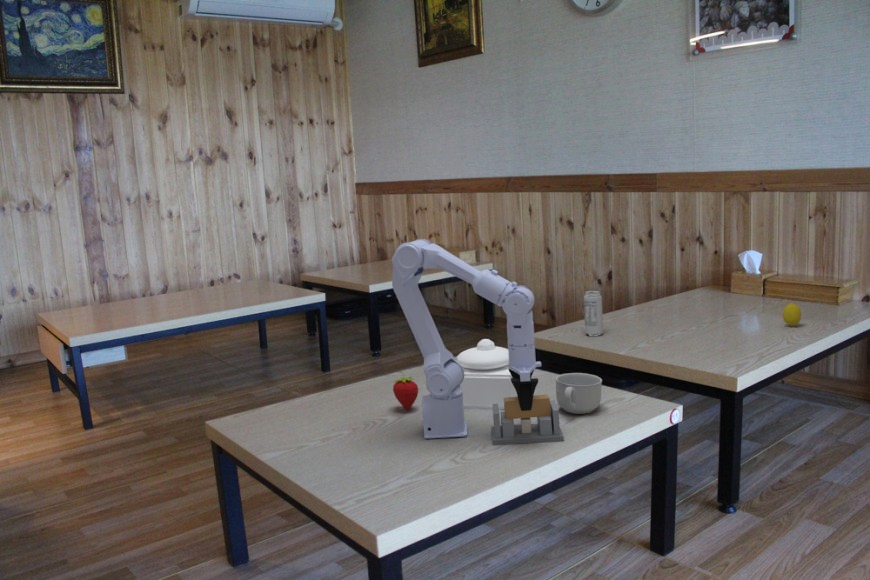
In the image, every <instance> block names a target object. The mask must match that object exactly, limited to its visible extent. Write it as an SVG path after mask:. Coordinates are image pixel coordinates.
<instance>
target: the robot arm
mask: <svg viewBox="0 0 870 580" xmlns="http://www.w3.org/2000/svg"><path fill="white" fill-rule="evenodd" d="M391 263H392V279H391V280H392V281H391V282H392V283H391V284H392V285H391V286H392V289H393V292H394V294H395V295H396V296H395V297H396V298H397V300H398V303H399V305H400V308H401V310H402V312H403V314H404V316H405V318H406V321H407V323H408V326H409V328H410V329H411V333H412V334H413V336H414V339H415V341H416V344H417V346H418V349H419V351H420V352H421V354H422V358H423V372H424V375H425V385H426V389H427V391H428V392H429V393H430V394H426V395H425V394H424V395H422V396H421V409H422V410H421V412H422V428H423V437H424V439H444V438H445V439H446V438H461V437H463V438H464V437H465V438H466V437H467V436H468V423H467V422H465V410H464V409H465V408H464V406H463V392H462V389H461V387H460V384H461V383H462V381H463V379H464V370H463V368H462V366H461V365H460V364H459V363H458V362H457V359H455V357H454V355H453V353H452V352H451V351H449V350H448V349H447V348H446V346H445V345H444V342H443V339H442V338H441V335H440V333H439V331H438V328H437V327H436V323H435V321H434V319H433V317H432V315H431V313H430V311H429V308H428V306H427V304H426V301H425V298H424V296H423V295H422V292H421V290H420V288H419V282H420V280H421V278H422V275H423V273H424V271H425V270H432V269H440V270H443V271H444V272H446V273H448V274H451V275H452V276H454V277H456V278H458V279H461V280H463V281H465V282H466V283H469V284H470V285H471V286H472V289H473V292H474V293H475V294H477V295H479V296H480V297H482V298H484V299H485V300H487V301H489V302H490V303H492V304H494V305H496V306H498V307H502V310H503V312H504V313H505V315H506V333H507V335H506V336H507V349H508V354H509V364H508V368H509V372H510V374H511V375H512V378H511V382H512V384H513V386H514V388H515V390H516V392H517V396H518V400H519V405H520V408H521V411H530V410H531V408H532V403H533V395H534V394H535V391H536V387H537V385H538V383H539V378H532V376H533V374H534V371H535V369H536V368H540V367H542V362H541V361H540V360H539V361H536V345H535V344H536V343H535V328H534V327H535V325H534V314H533V310H531V309H532V308H533V307H534V306H535V295H534V293H533V292H532V291H531V290H530V288H528V287H527V286H525V285H518V283H517V282H515V281H512V282H511V281H510V280H508V279H506V278H504V277H503V276H500V275H499V274H498V273H499V271H498V270H495V269H492V270H489V269H483V270H478V269H476V268H475V267H473V266H472V265H470V264H468V263H466V262H465V261H463V260H462V259H461V258H459V257H457V256H456V255H453V253H450V252H449V251H448V250H446V249H445V248H443V247H441V246H439V245H438V244H436V243H431V242H430V241H429V240H428V239H424V238H419V239H415V240H414V241H409V242H404V243H401V244H400V245H398V246H397V248H396V250H395V252H394V253H393V255H392V257H391Z"/></svg>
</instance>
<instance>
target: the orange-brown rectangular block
mask: <svg viewBox="0 0 870 580" xmlns="http://www.w3.org/2000/svg"><path fill="white" fill-rule="evenodd" d="M550 401H551V400H550V397H549V395H548V393H547V394H535V395H533V403H532V408H531V410H530V411H521V408H520V405H519V400H518V397H507V398H504V411H503V412H504V413H505V418H506V419H513V420H515V419H521V418H530V419H531V418H537V417H544V416H550Z"/></svg>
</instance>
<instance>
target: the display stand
mask: <svg viewBox="0 0 870 580" xmlns="http://www.w3.org/2000/svg"><path fill="white" fill-rule="evenodd" d="M492 418H493V419H492V420H493V425H491V426H490V430H491V440H492V445H493V446H498V445H514V444H515V445H516V444H533V443H550V442H554V443H555V442H564V440H565V438H564V434H563V431H562V428H561V427H560V410H559V407H558V404H557V403H556V400H554V399H553V400H550V416H544V417H536V422H537V423H531V422H532V421H531V418H520V424H514V419H506V418H505V413H504V411H500V410H499V408H498V404H493V409H492Z"/></svg>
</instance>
